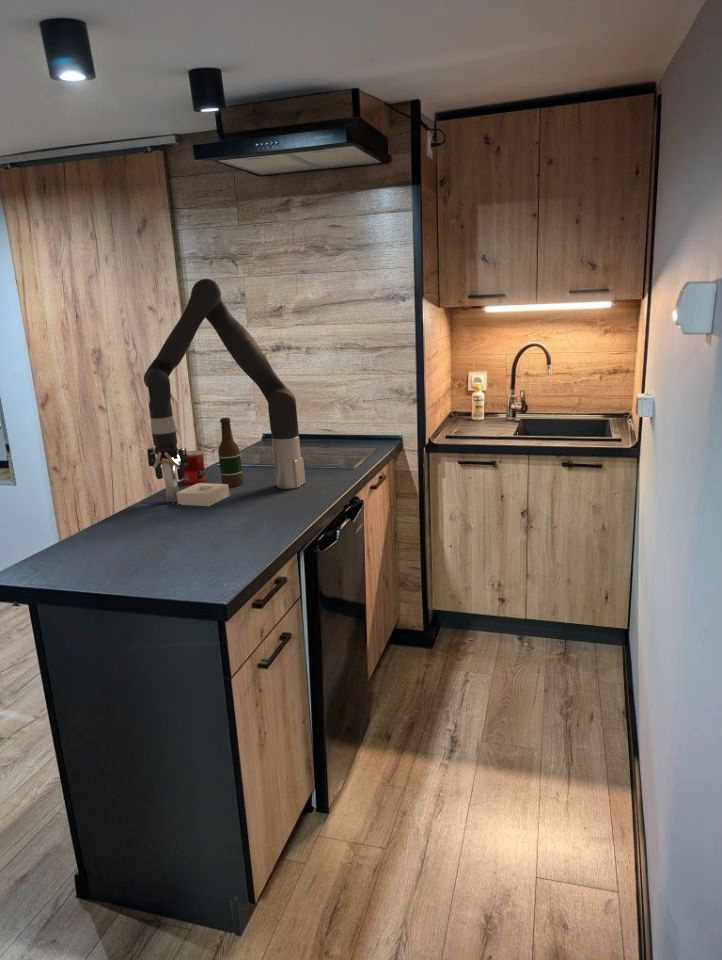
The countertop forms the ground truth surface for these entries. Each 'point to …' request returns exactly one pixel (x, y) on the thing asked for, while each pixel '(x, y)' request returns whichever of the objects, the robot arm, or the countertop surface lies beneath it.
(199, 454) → the canned food
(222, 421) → the beer bottle
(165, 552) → the countertop surface
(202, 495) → the socket block
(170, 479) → the plug
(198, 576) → the countertop surface
